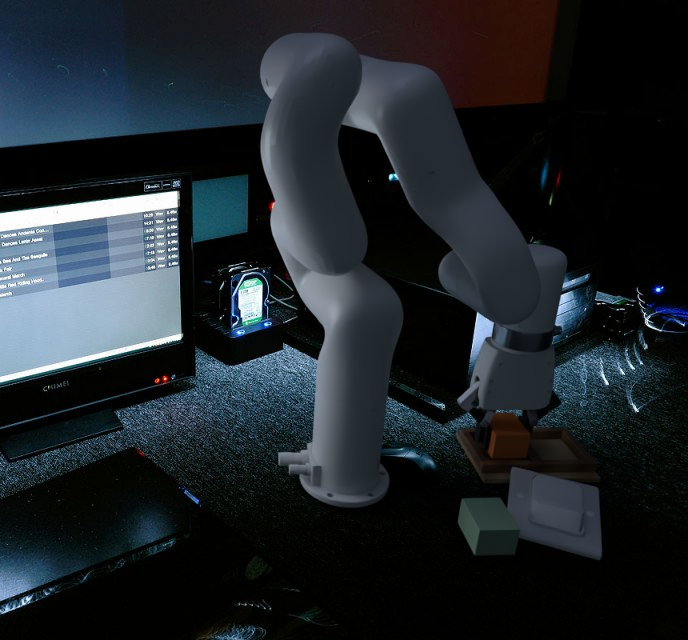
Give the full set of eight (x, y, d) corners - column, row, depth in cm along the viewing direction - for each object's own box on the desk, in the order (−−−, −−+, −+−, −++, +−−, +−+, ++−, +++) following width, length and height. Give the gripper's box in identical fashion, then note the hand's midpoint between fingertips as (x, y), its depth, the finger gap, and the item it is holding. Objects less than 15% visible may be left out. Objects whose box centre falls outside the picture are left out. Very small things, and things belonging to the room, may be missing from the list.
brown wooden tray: (483, 483, 94) (486, 470, 94) (455, 435, 105) (457, 423, 105) (599, 482, 94) (603, 469, 93) (558, 434, 105) (561, 422, 104)
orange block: (491, 458, 96) (496, 435, 95) (476, 435, 102) (480, 412, 100) (526, 457, 96) (531, 434, 95) (509, 434, 102) (513, 412, 100)
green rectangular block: (474, 555, 82) (479, 530, 80) (457, 522, 87) (461, 498, 86) (515, 555, 82) (520, 529, 80) (495, 521, 87) (500, 497, 86)
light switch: (509, 514, 83) (515, 450, 93) (503, 537, 85) (510, 473, 95) (608, 541, 79) (603, 471, 89) (599, 564, 81) (595, 494, 91)
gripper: (570, 322, 95) (546, 429, 102) (450, 324, 95) (435, 431, 103) (598, 345, 88) (570, 458, 95) (469, 347, 88) (451, 460, 96)
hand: (501, 443), depth 99 cm, fingers closed on orange block, 4 cm apart
